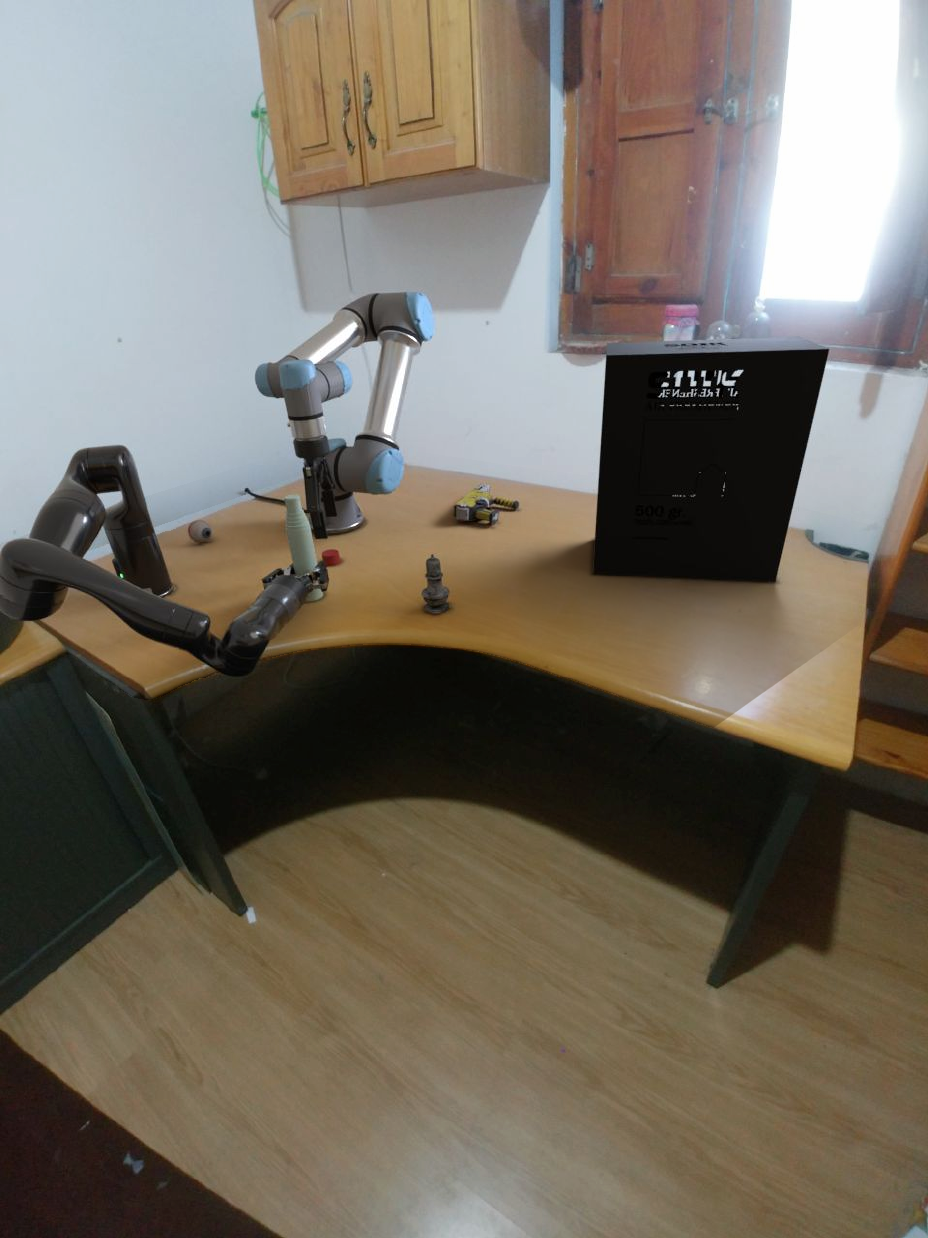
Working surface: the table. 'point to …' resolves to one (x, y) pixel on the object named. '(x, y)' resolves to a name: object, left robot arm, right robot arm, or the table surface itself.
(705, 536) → the cardboard box
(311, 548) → the bottle
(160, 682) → the table surface
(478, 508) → the toy gun
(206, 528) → the eyeball
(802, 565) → the table surface
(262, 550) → the table surface
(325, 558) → the cap
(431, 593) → the grey tiered upright piece
